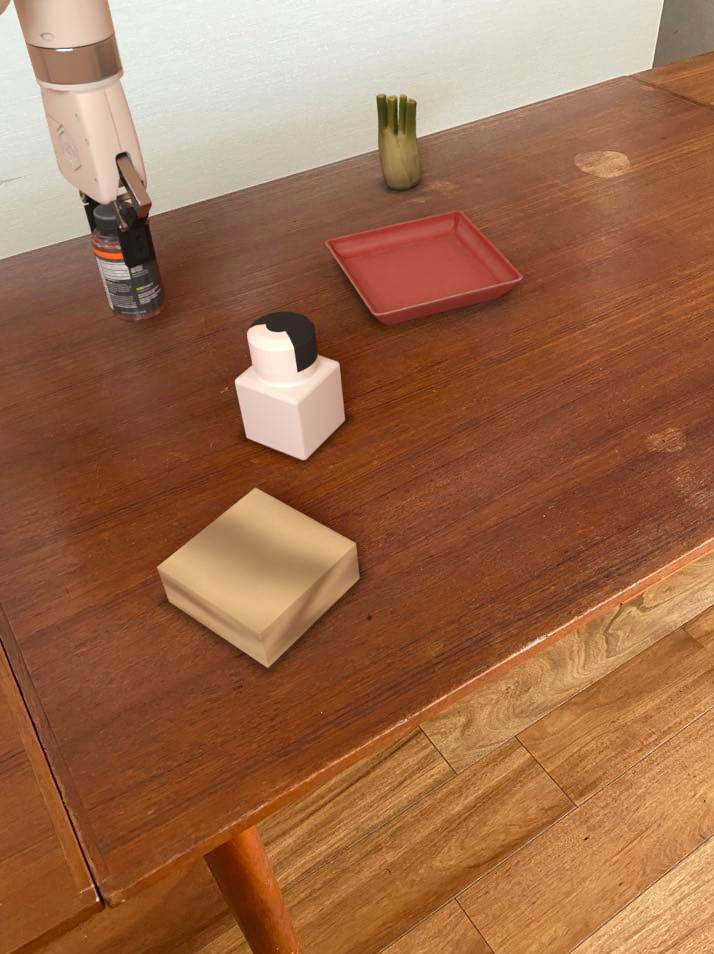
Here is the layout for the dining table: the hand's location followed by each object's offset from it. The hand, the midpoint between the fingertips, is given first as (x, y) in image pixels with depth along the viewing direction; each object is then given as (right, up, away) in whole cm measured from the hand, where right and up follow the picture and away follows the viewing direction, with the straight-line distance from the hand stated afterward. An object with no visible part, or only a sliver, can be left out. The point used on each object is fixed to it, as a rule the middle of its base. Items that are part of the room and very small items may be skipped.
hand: (124, 249), depth 89 cm
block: (+17, -34, -18) cm, 42 cm away
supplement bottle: (0, -5, +5) cm, 7 cm away
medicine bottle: (+18, -19, -4) cm, 27 cm away
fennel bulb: (+28, +19, +32) cm, 47 cm away
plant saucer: (+31, +1, +14) cm, 34 cm away
